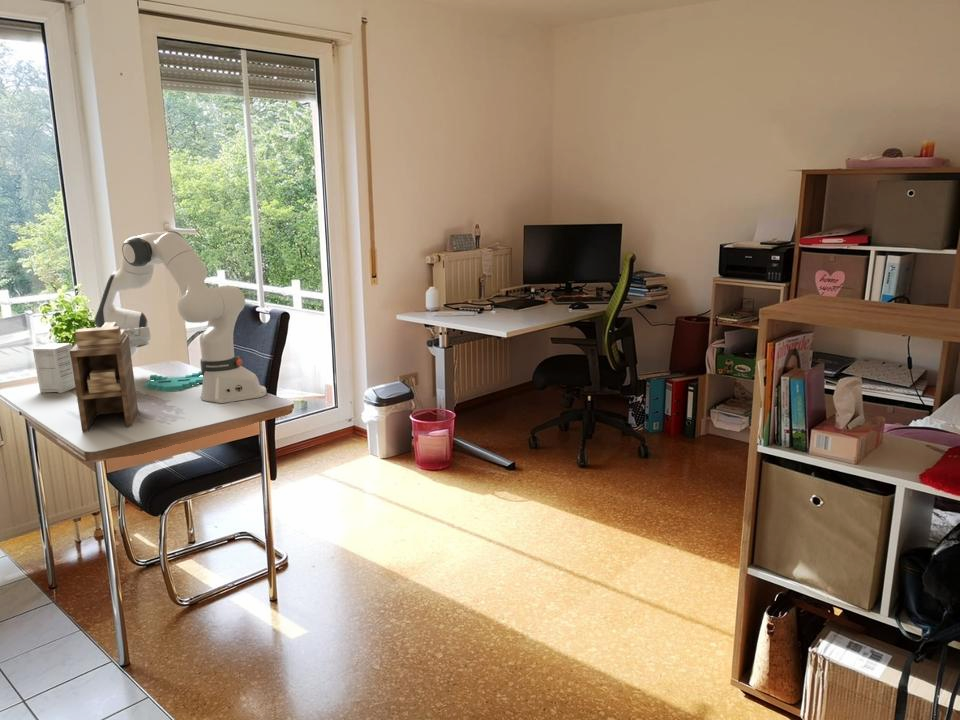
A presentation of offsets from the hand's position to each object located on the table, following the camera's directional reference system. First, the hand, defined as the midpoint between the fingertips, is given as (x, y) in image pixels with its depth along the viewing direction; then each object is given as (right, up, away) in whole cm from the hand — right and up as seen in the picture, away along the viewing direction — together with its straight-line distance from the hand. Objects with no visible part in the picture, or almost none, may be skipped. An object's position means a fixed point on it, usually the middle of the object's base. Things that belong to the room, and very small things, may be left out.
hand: (118, 332), depth 267 cm
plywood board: (+7, -2, -22) cm, 24 cm away
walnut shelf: (+11, -30, -26) cm, 41 cm away
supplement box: (-27, -21, +11) cm, 36 cm away
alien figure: (+14, -20, +16) cm, 29 cm away
